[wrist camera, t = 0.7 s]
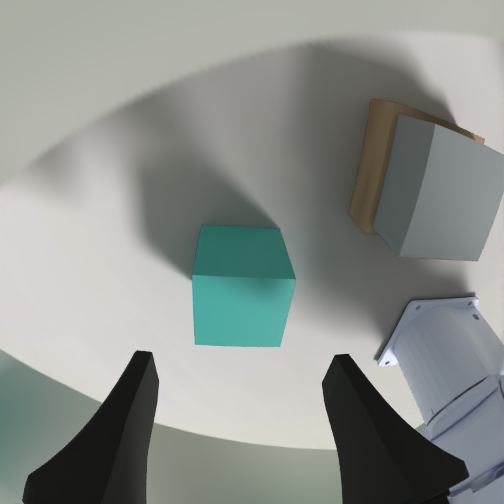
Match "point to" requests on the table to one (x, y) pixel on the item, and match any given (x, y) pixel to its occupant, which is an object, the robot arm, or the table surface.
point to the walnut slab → (383, 157)
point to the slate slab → (438, 193)
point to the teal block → (241, 286)
